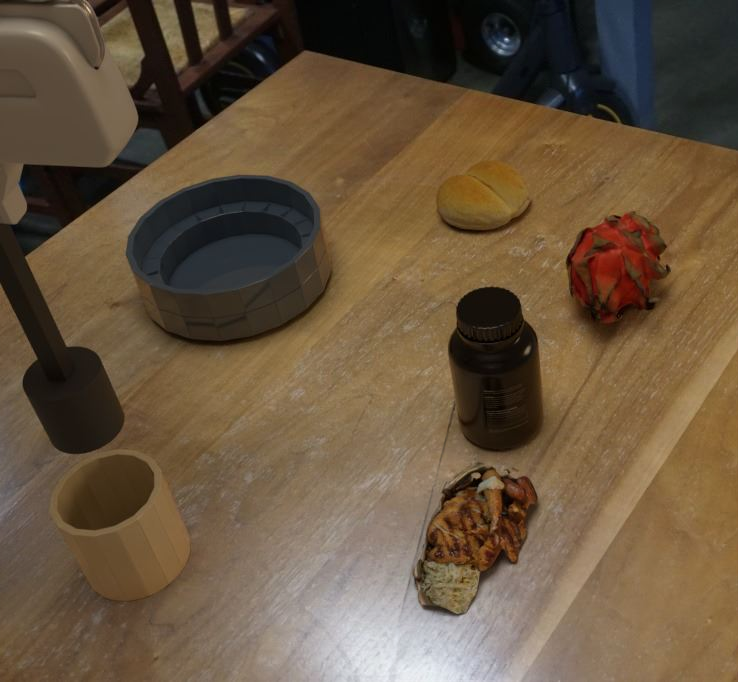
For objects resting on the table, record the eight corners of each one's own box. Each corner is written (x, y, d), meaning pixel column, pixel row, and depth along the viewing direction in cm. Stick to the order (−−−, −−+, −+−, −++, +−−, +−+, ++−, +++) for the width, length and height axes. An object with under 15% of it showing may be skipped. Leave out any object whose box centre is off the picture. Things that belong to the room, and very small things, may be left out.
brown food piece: (398, 602, 76) (391, 571, 73) (456, 471, 84) (451, 440, 81) (494, 625, 74) (490, 595, 71) (544, 489, 82) (542, 457, 80)
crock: (71, 599, 78) (30, 530, 72) (113, 515, 83) (78, 445, 77) (169, 609, 76) (135, 540, 71) (206, 523, 82) (177, 453, 76)
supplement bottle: (555, 398, 89) (549, 286, 81) (527, 460, 84) (518, 347, 76) (476, 381, 91) (462, 269, 83) (445, 441, 86) (427, 329, 78)
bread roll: (422, 209, 109) (417, 175, 106) (494, 172, 112) (491, 139, 110) (473, 247, 104) (469, 213, 101) (545, 207, 108) (544, 173, 105)
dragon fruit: (647, 268, 102) (605, 366, 96) (573, 216, 101) (526, 312, 94) (701, 226, 95) (660, 329, 89) (623, 170, 94) (575, 270, 87)
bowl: (116, 339, 97) (94, 288, 93) (185, 221, 110) (168, 171, 106) (302, 351, 95) (288, 298, 91) (352, 228, 107) (341, 177, 103)
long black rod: (36, 451, 70) (-109, 181, 56) (69, 397, 74) (-60, 129, 59) (106, 457, 70) (-23, 185, 55) (136, 402, 73) (22, 132, 59)
